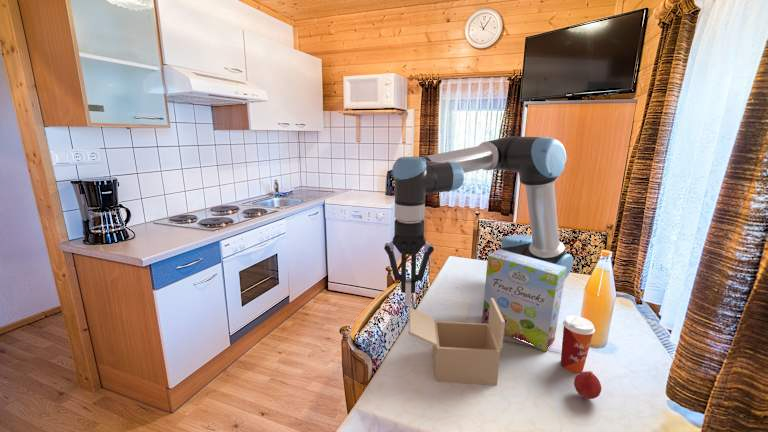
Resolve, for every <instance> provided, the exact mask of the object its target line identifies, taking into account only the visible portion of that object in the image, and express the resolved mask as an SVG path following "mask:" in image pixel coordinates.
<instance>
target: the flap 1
mask: <svg viewBox="0 0 768 432" xmlns="http://www.w3.org/2000/svg"><path fill="white" fill-rule="evenodd" d="M434 321H435V318H434V317H432V316H430V315H428V314H426V313H424V312H421V311H420V310H418V309H415V308H413V307H412V306H409V309H408V335H409V336H411V337H414V338H415V339H418V340H420V341H422V342H424V343H427V344H429V345H431V346H432V345H433V346H436V345H437V342H436V333H435V324H434Z"/></svg>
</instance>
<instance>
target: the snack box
mask: <svg viewBox="0 0 768 432" xmlns="http://www.w3.org/2000/svg"><path fill="white" fill-rule="evenodd" d="M486 264H487V265H486V274H485V285H484V296H483V306H482V315H481V316H482V317H481V323H487V324H489V322H488V321H489V310H490V300H491V298H494V300H495V302H496V304H497V306H498V308H499V310H500V312H501V314H502V317H503V319H504V321H505V327H504V335H506V336H508V335H509V337H510V336H512V337H511V338H513V337H515V338H518V339H520V340H524V341H526V342H528V343H531V344H533V345H534V348H535V349H538V350H540V351H542V352H545V353H546V352H547V351H548V350H549V349H548V347H549V346H550V345H551V344H552V345H553V343H554V342H555V339H556V333H557V328H558V320H559V316H560V310H561V304H562V297H563V293H564V287H565V282H566V281H565V280H566V279H565V275H566V268H567V267H564V266H560V265H557V264H553V263H549V262H546V261H542V260H538V259H535V258H531V257H527V256H523V255H520V254H516V253H512V252H508V251H505V250H501V248H499V249H498V248H497V250H496V251H494V252H492V253H489V254H488V255H487V263H486ZM515 338H514V339H515ZM553 341H554V342H553ZM552 345H551V346H552ZM551 346H550V347H551ZM550 347H549V348H550Z"/></svg>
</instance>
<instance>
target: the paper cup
mask: <svg viewBox="0 0 768 432" xmlns="http://www.w3.org/2000/svg"><path fill="white" fill-rule="evenodd" d="M562 325H563V331H562V332H563V333H562V343H561V356H560V365H561V367H562V368H563V369H565V370H566V371H568V372H571V373H574V374H580V373H581V372H584V367H585V364H586V360H587V357H588V353H589V350H590V346H591V342H592V338H593V336H594V335H593V334H595V332H596V329H595V326H594V323H592V321H590V320H589V319H587V318H585V317H582V316H578V315H569V316H566V318H564V319H563V322H562Z"/></svg>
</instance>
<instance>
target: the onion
mask: <svg viewBox="0 0 768 432" xmlns="http://www.w3.org/2000/svg"><path fill="white" fill-rule="evenodd" d="M573 386H574V388H575V391H576V392H577V394H579V396H581V397H582V399H584V400H594V399H597V398H598V397H599V396H600V394H601V392H602V385H601V381H600V380H599V378H598V377H597V376H596V375H595V374H594V373H593V371H592V370H588V371H582V372H580V373H577V375H576V376H574V380H573Z"/></svg>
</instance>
